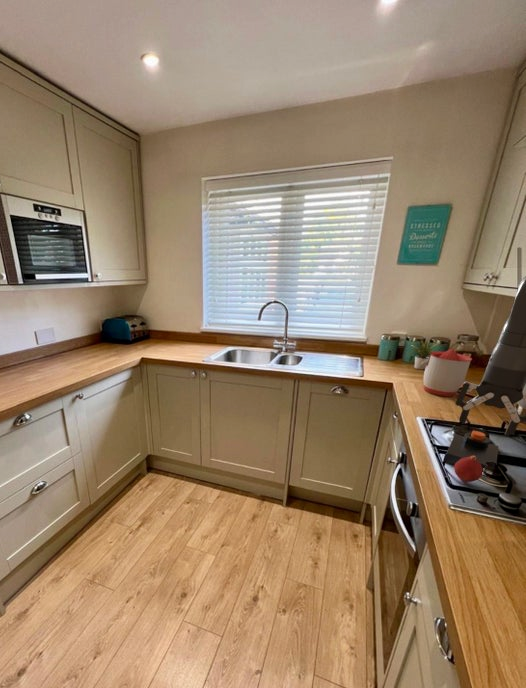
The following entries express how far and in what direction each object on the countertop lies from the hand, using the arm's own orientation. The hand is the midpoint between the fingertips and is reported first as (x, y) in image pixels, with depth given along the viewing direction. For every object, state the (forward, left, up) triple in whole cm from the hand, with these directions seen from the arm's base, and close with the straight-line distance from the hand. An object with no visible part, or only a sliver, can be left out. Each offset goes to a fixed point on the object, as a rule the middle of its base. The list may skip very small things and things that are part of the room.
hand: (484, 428), depth 80 cm
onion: (0, 0, -16) cm, 16 cm away
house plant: (-50, -106, -9) cm, 117 cm away
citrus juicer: (-36, -69, -16) cm, 79 cm away
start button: (-14, -16, -11) cm, 24 cm away
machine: (-10, -12, -16) cm, 22 cm away
